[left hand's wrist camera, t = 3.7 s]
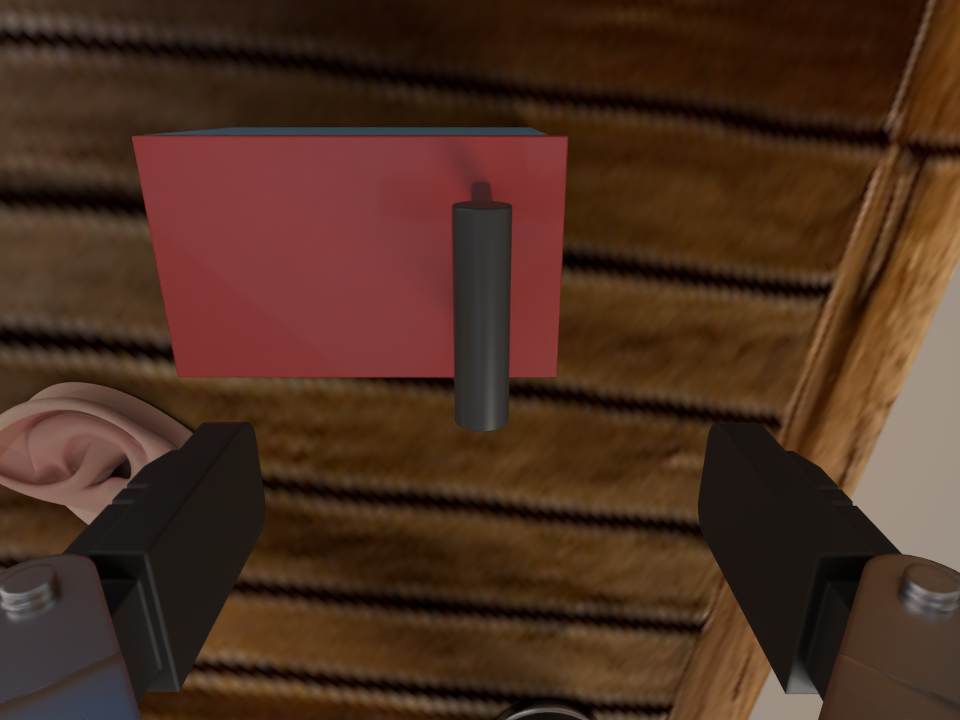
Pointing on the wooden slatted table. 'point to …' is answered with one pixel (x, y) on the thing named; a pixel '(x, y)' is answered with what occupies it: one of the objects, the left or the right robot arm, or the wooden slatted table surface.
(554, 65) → the wooden slatted table surface
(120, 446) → the anatomical model
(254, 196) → the lid
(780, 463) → the left robot arm
